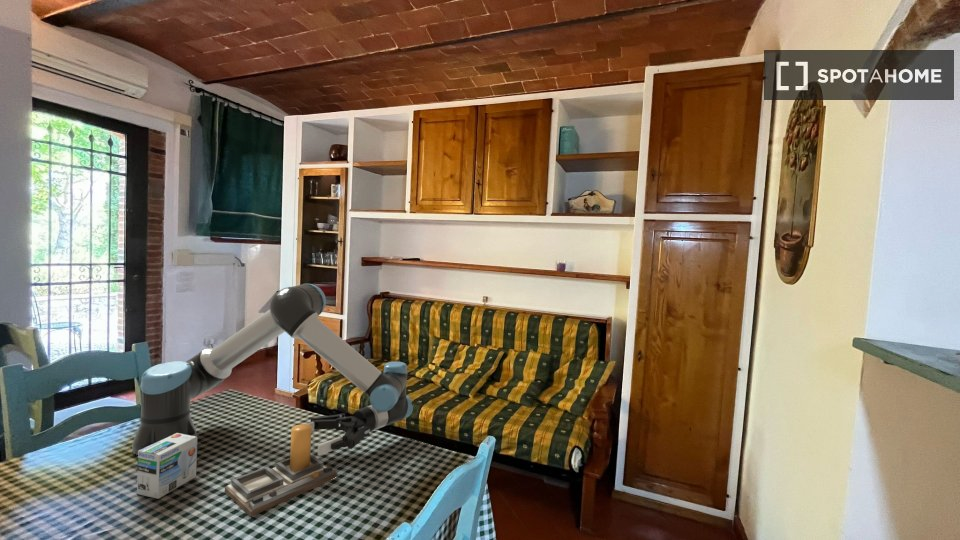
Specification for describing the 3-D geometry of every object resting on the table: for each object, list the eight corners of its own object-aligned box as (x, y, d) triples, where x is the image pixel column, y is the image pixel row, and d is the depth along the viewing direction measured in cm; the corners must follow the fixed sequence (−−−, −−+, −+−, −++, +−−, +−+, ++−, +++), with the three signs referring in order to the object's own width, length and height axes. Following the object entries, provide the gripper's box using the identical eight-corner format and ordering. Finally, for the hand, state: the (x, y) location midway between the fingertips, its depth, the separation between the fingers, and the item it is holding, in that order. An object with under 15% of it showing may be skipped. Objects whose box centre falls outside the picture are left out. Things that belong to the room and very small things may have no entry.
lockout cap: (286, 467, 111) (287, 427, 111) (303, 461, 115) (305, 422, 115) (295, 475, 108) (297, 433, 108) (313, 467, 112) (315, 428, 112)
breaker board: (224, 491, 102) (225, 479, 101) (308, 458, 119) (309, 448, 119) (250, 516, 93) (250, 503, 93) (336, 477, 111) (337, 465, 110)
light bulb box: (158, 499, 97) (159, 455, 97) (135, 494, 99) (135, 450, 98) (197, 476, 108) (198, 435, 107) (176, 471, 109) (177, 431, 109)
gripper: (395, 443, 121) (330, 472, 104) (345, 418, 136) (281, 440, 119) (396, 418, 120) (331, 443, 104) (346, 396, 136) (282, 414, 119)
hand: (304, 441), depth 111 cm, fingers open, 13 cm apart
